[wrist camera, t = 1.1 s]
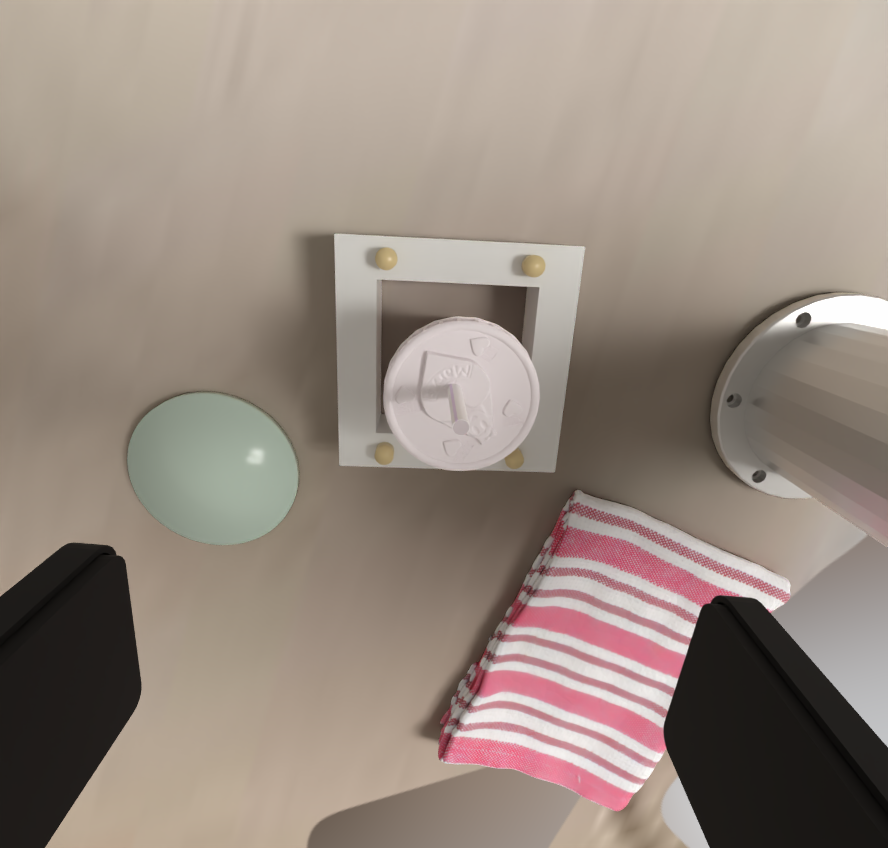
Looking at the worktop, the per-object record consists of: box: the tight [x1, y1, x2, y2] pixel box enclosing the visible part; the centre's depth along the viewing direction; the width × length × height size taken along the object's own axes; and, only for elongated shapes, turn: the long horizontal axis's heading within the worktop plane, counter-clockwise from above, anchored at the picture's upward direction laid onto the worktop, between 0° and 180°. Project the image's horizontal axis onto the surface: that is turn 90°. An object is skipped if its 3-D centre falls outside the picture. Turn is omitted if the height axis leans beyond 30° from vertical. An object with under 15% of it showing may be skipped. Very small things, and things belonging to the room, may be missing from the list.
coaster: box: [127, 391, 299, 545], centre depth 31 cm, size 10×10×1 cm
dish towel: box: [438, 490, 791, 811], centre depth 37 cm, size 17×23×4 cm
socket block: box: [334, 233, 585, 473], centre depth 28 cm, size 12×12×4 cm
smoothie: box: [383, 316, 540, 471], centre depth 23 cm, size 6×6×14 cm
